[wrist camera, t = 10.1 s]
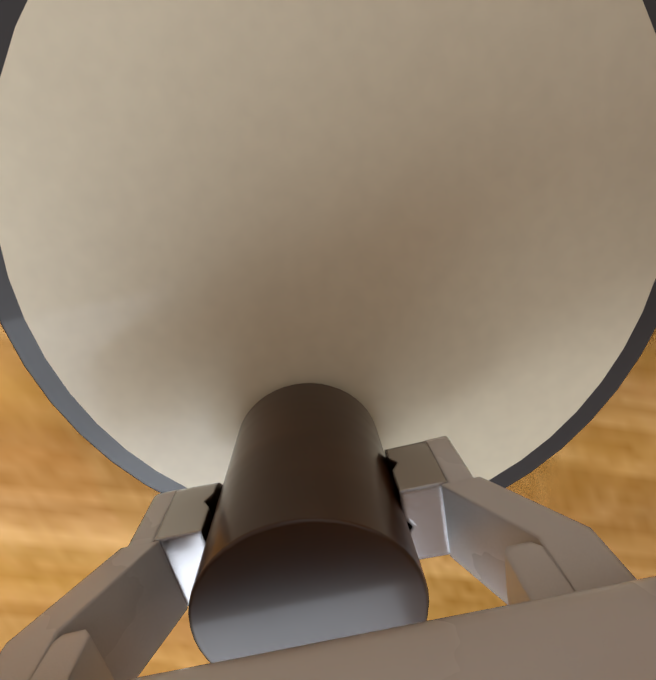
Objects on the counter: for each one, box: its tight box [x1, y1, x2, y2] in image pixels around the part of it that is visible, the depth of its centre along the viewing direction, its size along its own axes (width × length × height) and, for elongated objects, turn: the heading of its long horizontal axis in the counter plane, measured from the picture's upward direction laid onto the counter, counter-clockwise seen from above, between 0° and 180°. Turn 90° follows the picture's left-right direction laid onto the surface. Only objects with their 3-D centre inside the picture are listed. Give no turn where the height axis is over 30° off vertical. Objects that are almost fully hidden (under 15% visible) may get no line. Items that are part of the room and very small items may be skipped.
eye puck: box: [188, 383, 429, 663], centre depth 9 cm, size 4×4×5 cm
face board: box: [0, 0, 656, 493], centre depth 10 cm, size 18×18×1 cm
